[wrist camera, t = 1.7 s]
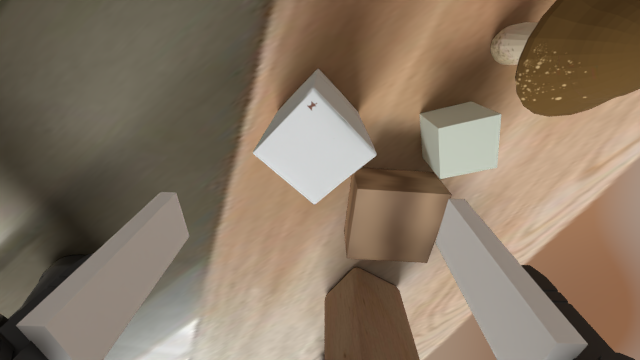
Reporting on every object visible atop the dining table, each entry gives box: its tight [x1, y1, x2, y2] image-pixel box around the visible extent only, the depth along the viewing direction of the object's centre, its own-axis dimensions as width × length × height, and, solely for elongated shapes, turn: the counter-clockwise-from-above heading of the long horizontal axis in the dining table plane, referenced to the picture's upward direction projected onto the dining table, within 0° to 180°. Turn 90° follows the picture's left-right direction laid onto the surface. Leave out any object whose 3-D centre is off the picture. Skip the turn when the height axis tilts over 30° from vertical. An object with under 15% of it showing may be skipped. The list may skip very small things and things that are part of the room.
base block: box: [344, 168, 452, 263], centre depth 35 cm, size 11×11×6 cm
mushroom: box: [490, 0, 640, 116], centre depth 21 cm, size 9×11×15 cm
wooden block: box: [325, 268, 419, 360], centre depth 38 cm, size 10×10×20 cm
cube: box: [420, 101, 501, 179], centre depth 30 cm, size 6×6×6 cm
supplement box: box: [253, 69, 377, 204], centre depth 26 cm, size 7×7×13 cm
